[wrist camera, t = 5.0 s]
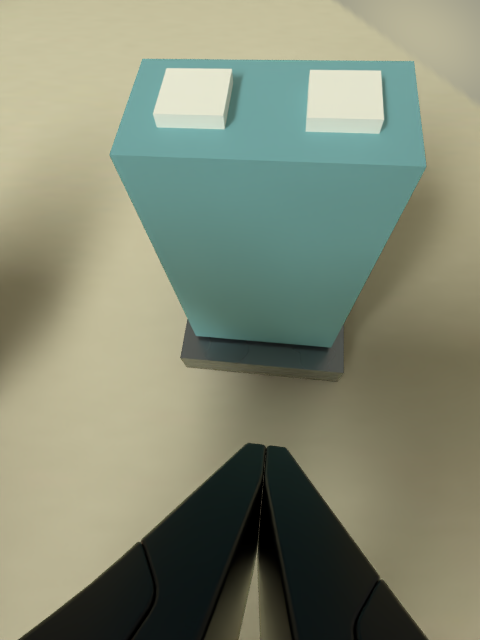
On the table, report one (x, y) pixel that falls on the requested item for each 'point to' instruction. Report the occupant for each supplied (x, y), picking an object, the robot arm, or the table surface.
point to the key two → (270, 185)
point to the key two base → (264, 356)
